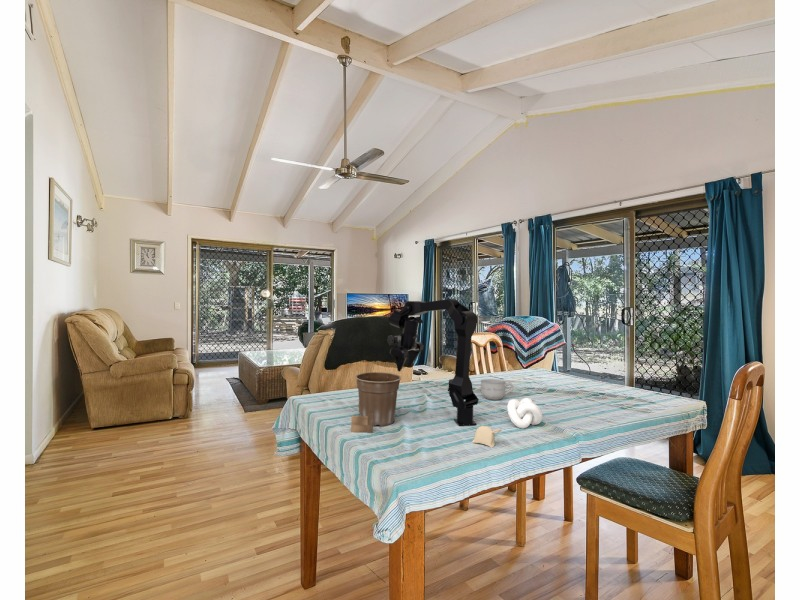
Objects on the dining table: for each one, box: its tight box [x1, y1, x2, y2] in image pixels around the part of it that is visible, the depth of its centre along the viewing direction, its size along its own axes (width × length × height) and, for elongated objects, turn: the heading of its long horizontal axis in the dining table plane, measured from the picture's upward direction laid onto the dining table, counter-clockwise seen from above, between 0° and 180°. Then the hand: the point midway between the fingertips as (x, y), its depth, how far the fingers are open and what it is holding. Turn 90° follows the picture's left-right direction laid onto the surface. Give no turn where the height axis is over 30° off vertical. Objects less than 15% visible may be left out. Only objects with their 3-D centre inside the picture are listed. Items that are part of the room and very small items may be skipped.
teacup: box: [480, 378, 514, 401], centre depth 180 cm, size 14×11×8 cm
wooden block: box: [350, 408, 374, 434], centre depth 147 cm, size 7×24×6 cm, turn 179°
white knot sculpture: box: [506, 397, 543, 429], centre depth 146 cm, size 11×12×9 cm
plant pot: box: [355, 371, 402, 427], centre depth 146 cm, size 16×16×16 cm
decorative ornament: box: [471, 425, 502, 448], centre depth 127 cm, size 4×8×5 cm, turn 52°
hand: (404, 368), depth 167 cm, fingers open, 9 cm apart
